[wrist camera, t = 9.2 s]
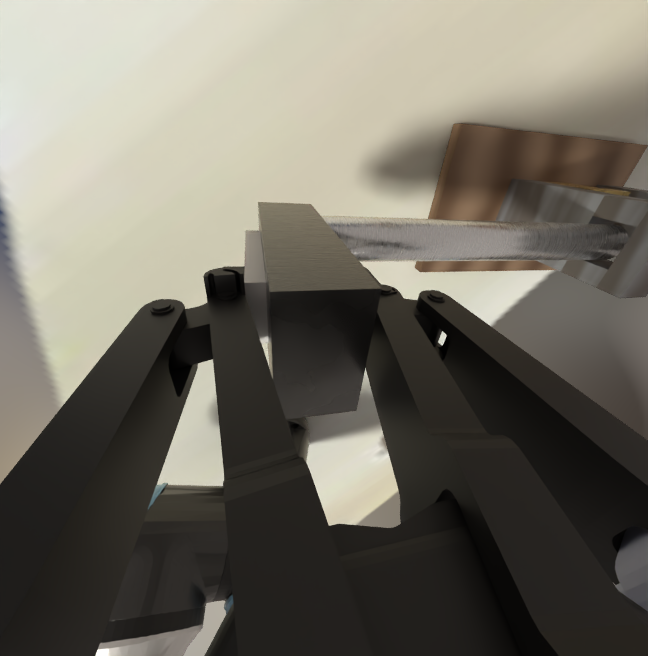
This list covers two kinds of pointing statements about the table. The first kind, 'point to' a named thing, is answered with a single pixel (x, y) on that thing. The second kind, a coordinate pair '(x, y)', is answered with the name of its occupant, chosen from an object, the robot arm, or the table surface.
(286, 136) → the table surface
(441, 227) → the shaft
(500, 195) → the shaft stand
